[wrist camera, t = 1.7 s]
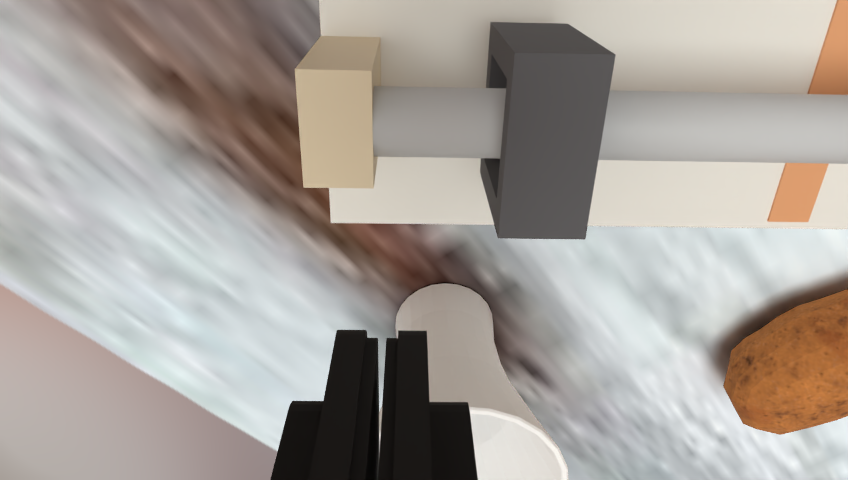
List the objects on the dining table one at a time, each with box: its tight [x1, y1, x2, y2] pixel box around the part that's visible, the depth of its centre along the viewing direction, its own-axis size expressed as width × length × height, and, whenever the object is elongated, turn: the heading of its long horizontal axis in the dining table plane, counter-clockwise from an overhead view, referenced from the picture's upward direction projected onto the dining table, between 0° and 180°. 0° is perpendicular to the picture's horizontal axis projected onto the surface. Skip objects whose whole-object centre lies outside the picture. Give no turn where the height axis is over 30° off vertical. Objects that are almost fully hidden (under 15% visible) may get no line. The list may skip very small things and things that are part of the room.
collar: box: [480, 22, 616, 239], centre depth 26 cm, size 7×4×7 cm, turn 179°
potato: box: [724, 289, 848, 435], centre depth 38 cm, size 7×13×7 cm, turn 118°
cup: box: [379, 283, 568, 480], centre depth 34 cm, size 10×10×14 cm
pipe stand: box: [295, 0, 848, 229], centre depth 29 cm, size 16×36×9 cm, turn 89°
